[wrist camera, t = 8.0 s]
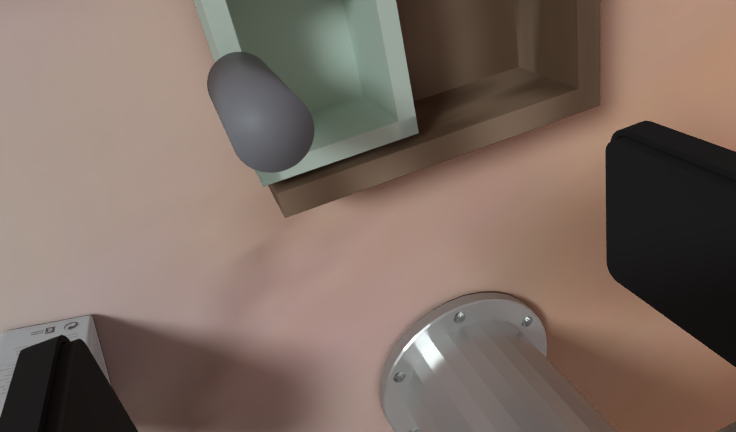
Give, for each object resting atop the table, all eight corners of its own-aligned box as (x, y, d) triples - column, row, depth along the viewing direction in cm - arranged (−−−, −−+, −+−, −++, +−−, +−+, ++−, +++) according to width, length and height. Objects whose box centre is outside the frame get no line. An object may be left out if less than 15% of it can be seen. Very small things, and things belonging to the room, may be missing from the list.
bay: (515, -172, 27) (599, -193, 22) (530, 78, 33) (600, 104, 28) (173, -91, 24) (183, -95, 19) (260, 169, 30) (285, 218, 25)
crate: (339, -81, 25) (461, -85, 16) (376, 102, 29) (491, 185, 20) (160, -35, 24) (178, -9, 14) (226, 151, 28) (274, 266, 18)
